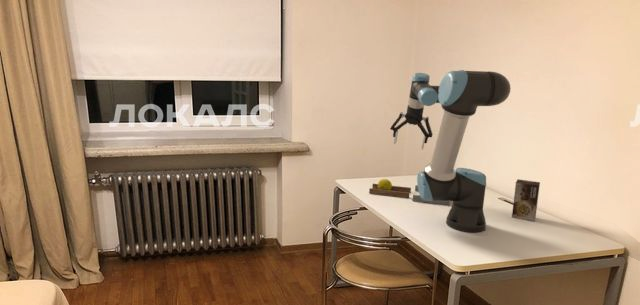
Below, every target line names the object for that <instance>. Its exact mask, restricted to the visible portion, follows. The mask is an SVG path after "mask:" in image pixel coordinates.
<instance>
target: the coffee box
mask: <svg viewBox="0 0 640 305" xmlns="http://www.w3.org/2000/svg"><path fill="white" fill-rule="evenodd" d="M540 186H541V182H540V181H532V180H524V179H519V178H518V179H516V182H515V188H514V196H513V203H512V204H513V205H512V212H511V218H514V219H520V220H525V221H530V222H535V221H536V218H537V217H536V216H537V210H538V209H537V208H538V203H539V202H538V201H539V195H540V194H539V193H540Z"/></svg>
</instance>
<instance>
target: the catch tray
mask: <svg viewBox="0 0 640 305" xmlns="http://www.w3.org/2000/svg"><path fill="white" fill-rule="evenodd" d="M414 192H418V193H419V191H418V186H417V184H415V186H414ZM412 202H415V203H416V202H417V203H423V204H424V203H426V204H432V205H433V204H434V205H441V206H442V205H443V206H450V202H451V201H433V202H432V201H425V200H423V199H422V198H421V197H420V195H419V194H412Z"/></svg>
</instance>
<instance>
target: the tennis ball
mask: <svg viewBox="0 0 640 305" xmlns="http://www.w3.org/2000/svg"><path fill="white" fill-rule="evenodd" d="M377 184H378V189H381V190H391V188H392V186H393V185H392V184H393V183H392V182H391V181H390V180H389V179H388V178H382V179H380V180H379V181H378V183H377Z"/></svg>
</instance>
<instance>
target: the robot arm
mask: <svg viewBox="0 0 640 305" xmlns="http://www.w3.org/2000/svg"><path fill="white" fill-rule="evenodd" d="M510 93H511V84H510V81H509V79H508V78H507V77H506V76H505V75H503V74H502V73H499V72H496V71H483V70H480V71H478V70H477V71H476V70H464V69H461V70H460V69H459V70H451V71H448V72H447V73H445V75H444V76H443V77H442V79H441V81H440V83H439V85H431V84H430V75H429V74H428V73H425V72H424V73H423V72H416V73H413V76H412V79H411V85H410V90H409V95H408V96H409V97H408V102H407V104H408V105H407V109H406V112H405V113H404V112H402V111H400V112H399V115H398V117H397V118H396V120H395V121H394V122H393V123H392V125H391V127H390V128H389V129H390V130H391V131H393V134H392V137H393V138H394V141H393V144H394V145H396V143H397V139H398V135H399V130H400V129H401V128H403V126H406V125H407V124H408V125H413V126H417V127H418V128H419V129H420V130H421V133H422V134H423V135H424V136H423V140H422V145H421V150H422V151H423V150H424V147H425V144H427V143H428V139H429V138H432V137H433V131H432V128H431V125H430V119H429V116H426V117H424V116H423V114H424V108H425V106H426V107H431V106H434V105H435V104H440V106H441V109H442V110H443V115H442V119H441V124H440V127H439V131H438V135H437V138H436V142H435V145H434V146H435V147H434V150H433V153H432V156H431V161H430V163H427V164H426V166H425V168H424V171H423V170H421V171H418V173H417V176H416V183H417V184H416V185H417V186H418V191H419V192H418V191H417V192H418V195H420V197H421V198H422V199H423V200H425V201H432V202H433V201H450V202H452V206H451V208H450V209H449V211H448V214H447V216H446V221H445V223H446V225H447V226H448V227H450V228H452V229H454V230H457V231H460V232H465V233H481V232H484V231H485V230H486V227H487V223H486V222H487V221H486V218H485V214H484V213H485V212H484V205H485V202H484V201H485V196H486V188H487V187H486V186H487V176H486V175H485V173H484V172H482V171H479V170H475V169H471V168H466V167H456V168H455V165H456V162H457V158H458V156H459V152H460V148H461V145H462V142H463V138H464V136H465V133H466V128H467V126H468V122H469V120H470V117H472V116H474V115H475V114H476V112H477V109H478V107H493V106H494V107H495V106H498V105H500V104H502V103H505V101H506V100H507V99H508V98H509V96H510ZM403 118H405V120H403V121H402V122H401V123H400V124H398V123H399V122H400V121H401V119H403ZM422 121H423V122H424V125H425V126H426V128H425V126H424V125H423V123H422ZM397 124H398V125H397ZM454 168H455V169H454Z"/></svg>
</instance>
